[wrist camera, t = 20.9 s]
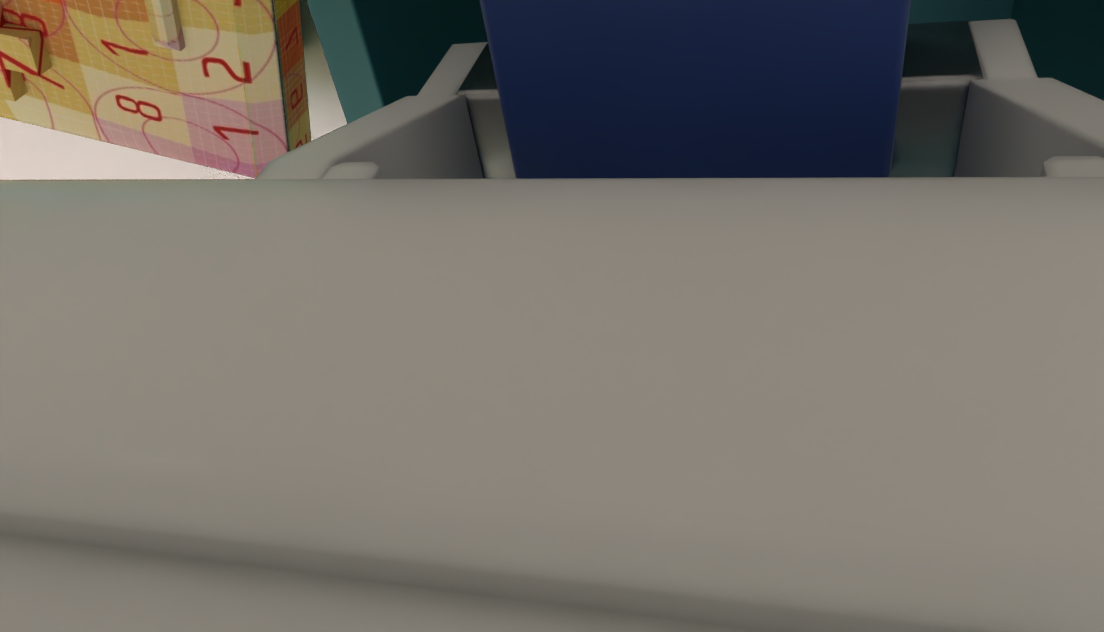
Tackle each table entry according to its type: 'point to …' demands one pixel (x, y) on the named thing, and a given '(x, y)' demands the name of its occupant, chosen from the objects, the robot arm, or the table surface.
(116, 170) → the table surface
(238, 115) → the puzzle game
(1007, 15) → the cooler
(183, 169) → the table surface
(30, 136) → the table surface
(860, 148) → the block
